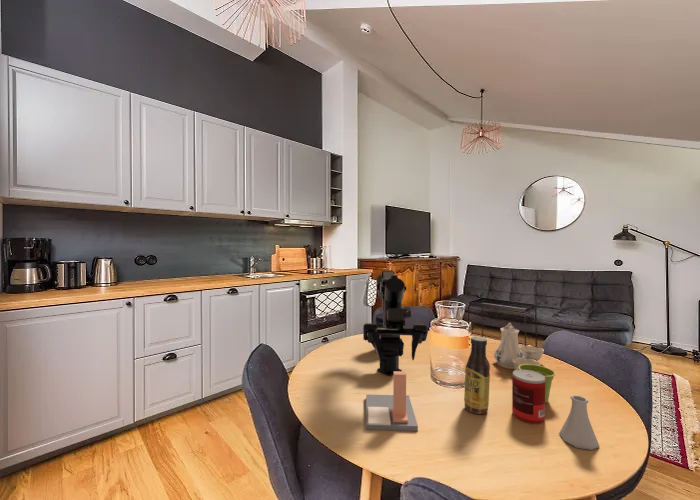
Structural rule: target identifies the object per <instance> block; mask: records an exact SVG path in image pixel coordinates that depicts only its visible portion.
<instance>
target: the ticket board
mask: <svg viewBox="0 0 700 500" xmlns="http://www.w3.org/2000/svg"><path fill="white" fill-rule="evenodd" d="M392 408H393V394H365V414H366V416H365V418H366V419H365V421H366V422H365V424H366V427H365V428H366V429H365V430H374V431H404V432H405V431H407V432H408V431H409V432H418V431H419V425H418V422H417V421H418V420H417V418H416V416H415V412H414V408H413V405H412V401H411V399H410V395H408V394H406V413H407V417H408V423H400V422H393V416H392Z"/></svg>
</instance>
